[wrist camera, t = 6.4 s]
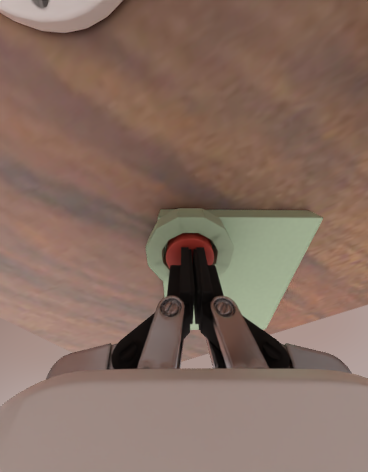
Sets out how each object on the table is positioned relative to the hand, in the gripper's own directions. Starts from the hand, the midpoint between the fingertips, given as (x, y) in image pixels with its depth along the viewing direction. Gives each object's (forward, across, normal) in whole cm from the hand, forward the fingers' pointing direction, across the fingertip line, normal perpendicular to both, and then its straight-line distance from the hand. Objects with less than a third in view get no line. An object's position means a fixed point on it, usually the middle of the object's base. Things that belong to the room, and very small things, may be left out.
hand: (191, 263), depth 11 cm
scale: (+4, -4, +5) cm, 7 cm away
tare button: (+2, 0, 0) cm, 2 cm away
